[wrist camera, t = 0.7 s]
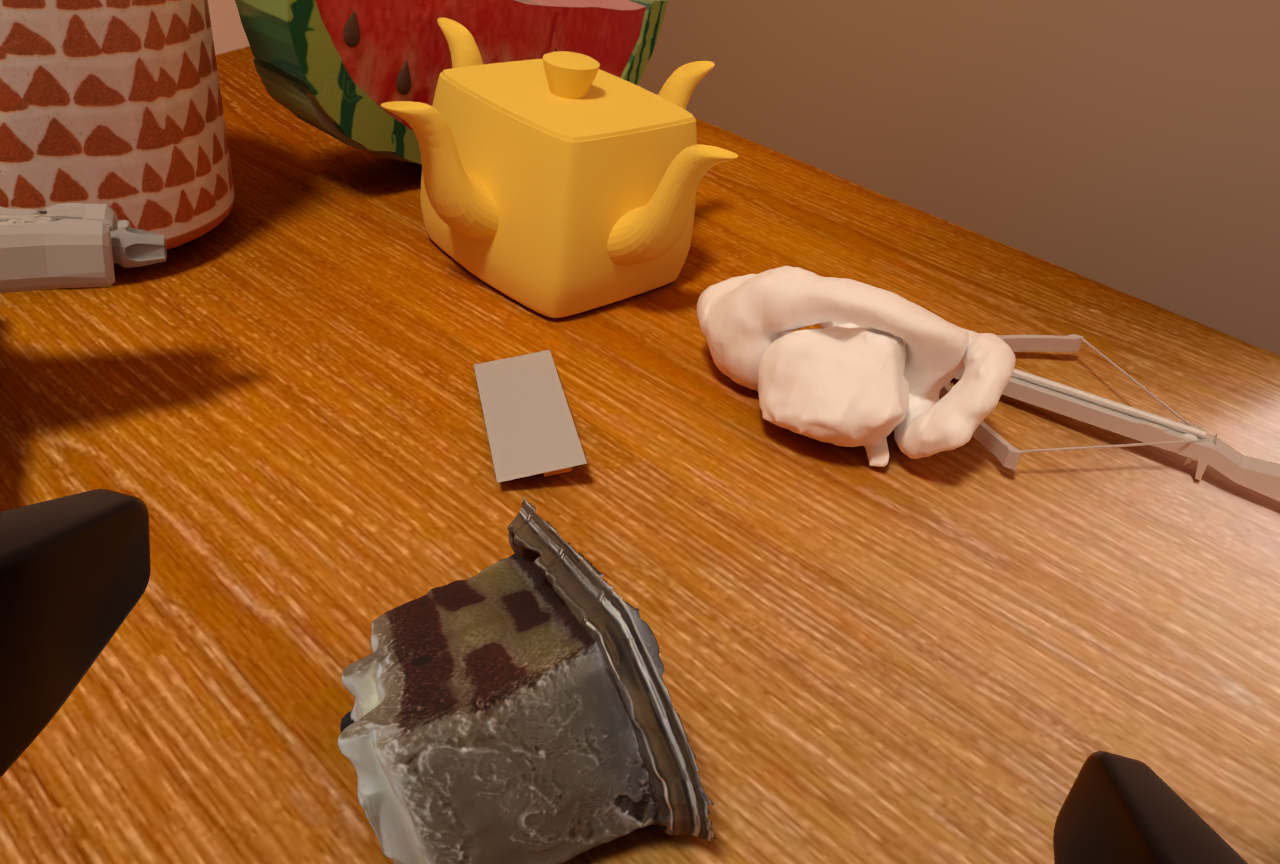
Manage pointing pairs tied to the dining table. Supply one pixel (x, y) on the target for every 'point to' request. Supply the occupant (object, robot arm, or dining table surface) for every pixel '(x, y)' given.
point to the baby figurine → (853, 361)
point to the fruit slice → (422, 53)
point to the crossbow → (1119, 421)
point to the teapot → (559, 175)
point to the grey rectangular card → (527, 417)
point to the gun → (70, 247)
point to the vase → (114, 112)
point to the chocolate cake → (518, 717)
